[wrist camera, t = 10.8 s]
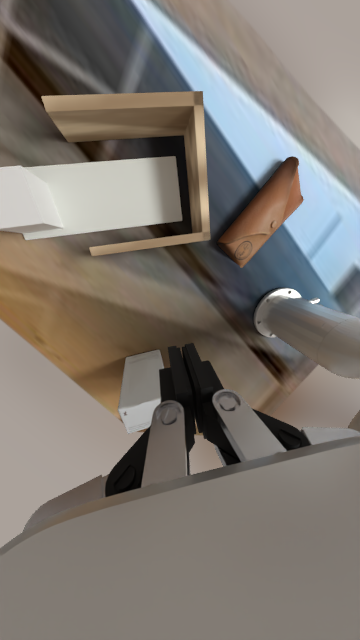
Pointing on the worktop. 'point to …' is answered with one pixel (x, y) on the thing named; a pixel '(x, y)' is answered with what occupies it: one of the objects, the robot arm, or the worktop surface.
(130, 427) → the skincare box
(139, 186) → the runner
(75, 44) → the worktop surface
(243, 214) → the sunglasses case
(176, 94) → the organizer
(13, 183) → the white cube
